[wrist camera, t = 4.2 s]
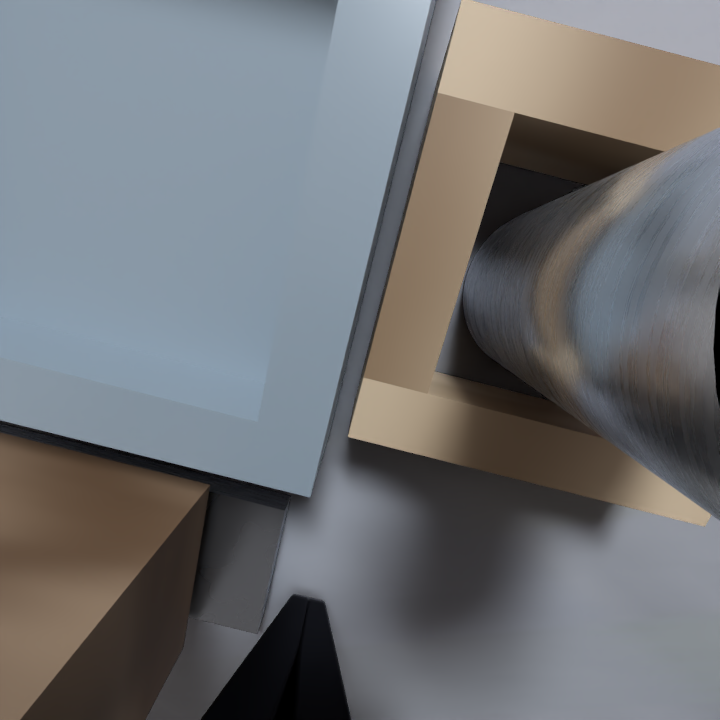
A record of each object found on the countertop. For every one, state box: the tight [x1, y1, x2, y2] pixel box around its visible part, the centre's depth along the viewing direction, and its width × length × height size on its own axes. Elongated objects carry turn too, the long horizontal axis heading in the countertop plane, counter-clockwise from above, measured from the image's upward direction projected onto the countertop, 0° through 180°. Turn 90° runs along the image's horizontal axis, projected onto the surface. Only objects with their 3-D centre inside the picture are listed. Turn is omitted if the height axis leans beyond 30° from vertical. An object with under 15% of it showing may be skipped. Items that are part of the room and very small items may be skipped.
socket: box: [348, 0, 720, 526], centre depth 7 cm, size 7×7×2 cm
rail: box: [0, 423, 291, 634], centre depth 9 cm, size 11×4×1 cm, turn 76°
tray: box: [0, 0, 436, 497], centre depth 6 cm, size 11×11×2 cm
